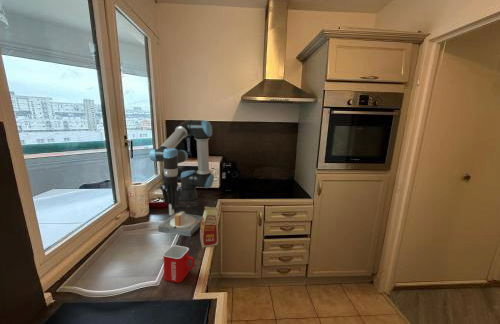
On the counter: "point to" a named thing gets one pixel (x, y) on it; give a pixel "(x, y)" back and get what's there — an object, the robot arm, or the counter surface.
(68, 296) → the counter surface
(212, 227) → the milk carton
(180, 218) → the dial
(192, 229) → the panel
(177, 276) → the mug
